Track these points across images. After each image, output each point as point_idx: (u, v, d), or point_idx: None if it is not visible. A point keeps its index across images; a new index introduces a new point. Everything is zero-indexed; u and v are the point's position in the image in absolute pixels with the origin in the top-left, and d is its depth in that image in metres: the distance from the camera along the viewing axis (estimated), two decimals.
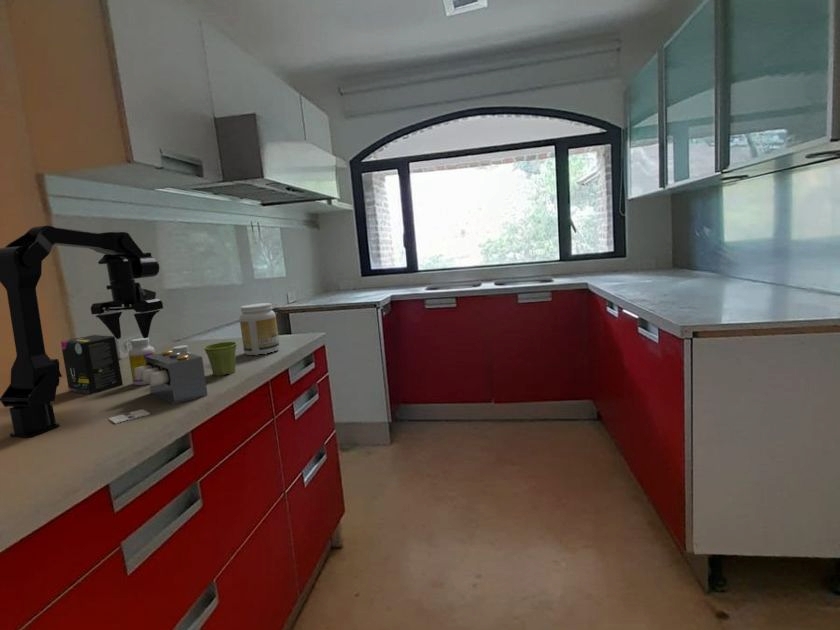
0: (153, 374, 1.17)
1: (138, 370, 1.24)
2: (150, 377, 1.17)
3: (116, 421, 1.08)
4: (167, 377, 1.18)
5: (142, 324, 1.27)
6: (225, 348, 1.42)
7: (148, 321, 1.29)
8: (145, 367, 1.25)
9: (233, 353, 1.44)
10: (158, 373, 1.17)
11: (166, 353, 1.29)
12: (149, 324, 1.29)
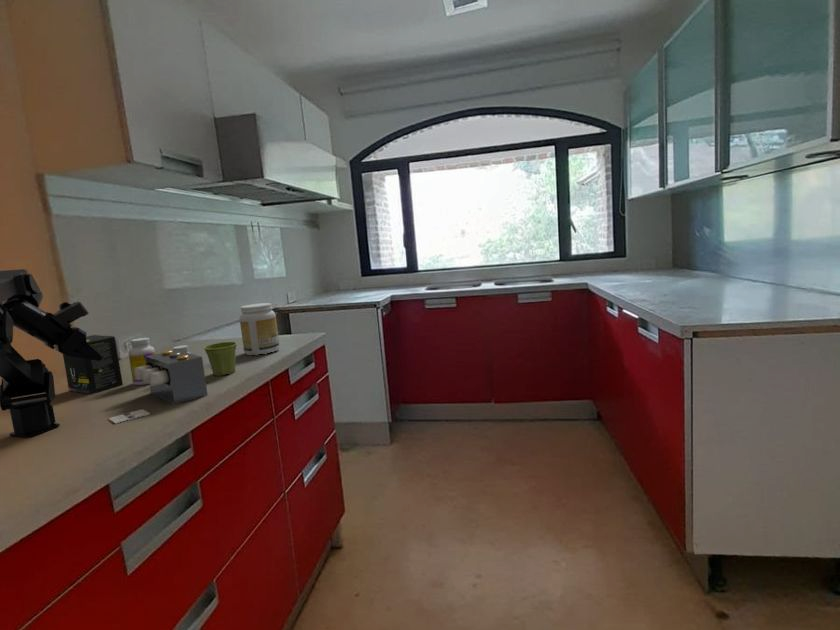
0: (153, 374, 1.17)
1: (138, 370, 1.24)
2: (150, 377, 1.17)
3: (116, 421, 1.08)
4: (167, 377, 1.18)
5: (82, 356, 1.12)
6: (225, 348, 1.42)
7: (86, 348, 1.12)
8: (145, 367, 1.25)
9: (233, 353, 1.44)
10: (158, 373, 1.17)
11: (166, 353, 1.29)
12: (90, 349, 1.13)
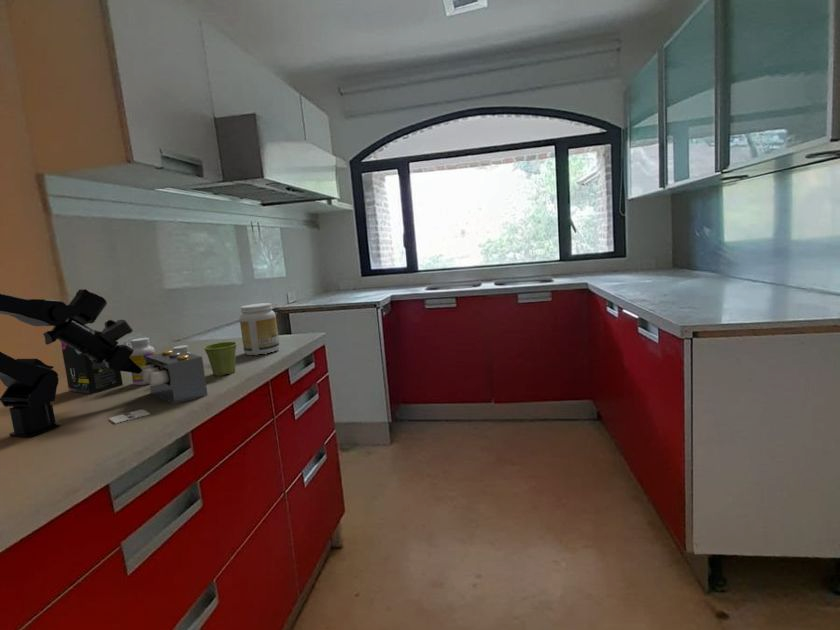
0: (153, 374, 1.17)
1: (144, 369, 1.25)
2: (150, 377, 1.17)
3: (116, 421, 1.08)
4: (167, 377, 1.18)
5: (124, 370, 1.22)
6: (225, 348, 1.42)
7: (128, 362, 1.22)
8: (151, 366, 1.26)
9: (233, 353, 1.44)
10: (158, 373, 1.17)
11: (166, 353, 1.29)
12: (132, 363, 1.23)
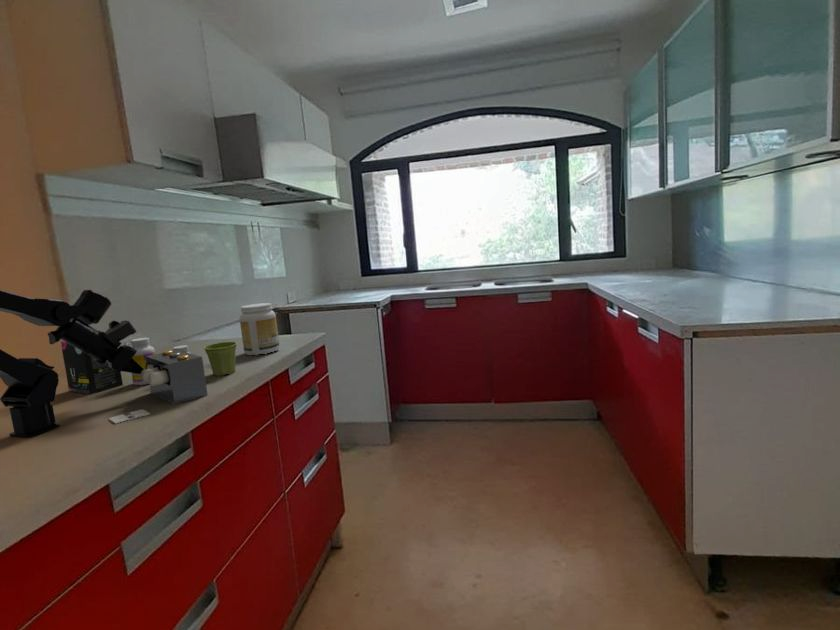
0: (153, 374, 1.17)
1: (151, 367, 1.26)
2: (150, 377, 1.17)
3: (116, 421, 1.08)
4: (167, 377, 1.18)
5: (127, 370, 1.22)
6: (225, 348, 1.42)
7: (131, 362, 1.22)
8: None
9: (233, 353, 1.44)
10: (158, 373, 1.17)
11: (166, 353, 1.29)
12: (135, 363, 1.23)
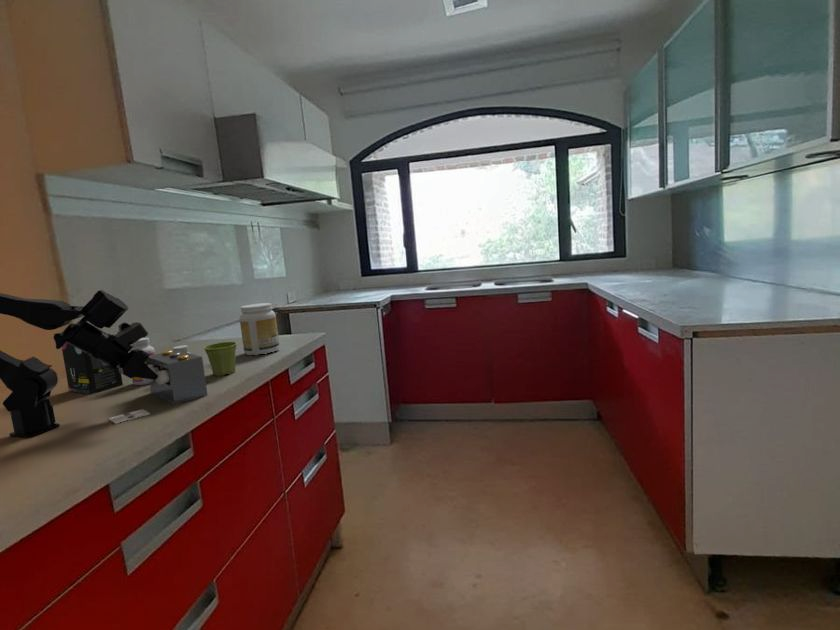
0: (160, 372, 1.18)
1: (151, 367, 1.26)
2: None
3: (116, 421, 1.08)
4: None
5: (139, 376, 1.14)
6: (225, 348, 1.42)
7: (143, 367, 1.14)
8: None
9: (233, 353, 1.44)
10: (165, 372, 1.19)
11: (166, 353, 1.29)
12: (147, 368, 1.15)
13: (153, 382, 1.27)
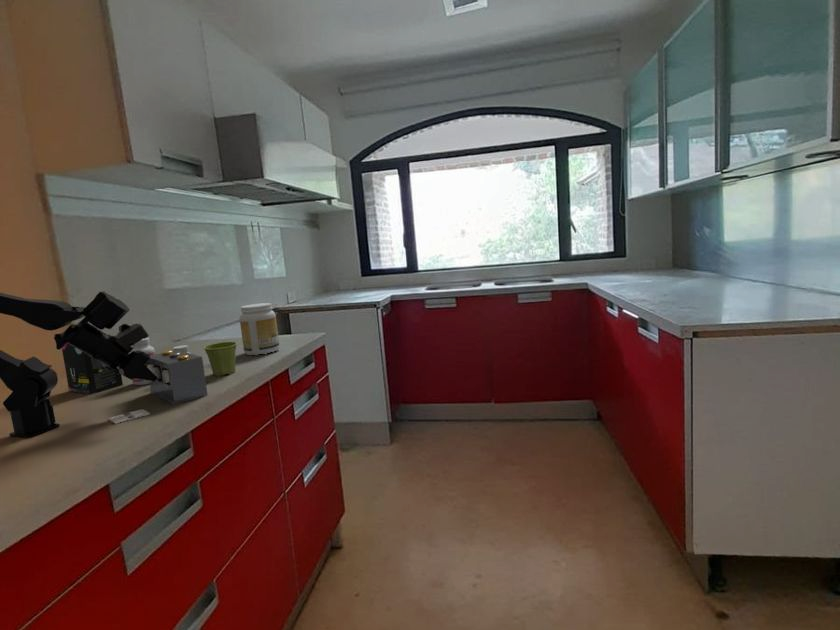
0: (167, 371, 1.19)
1: (151, 367, 1.26)
2: (164, 374, 1.19)
3: (116, 421, 1.08)
4: None
5: (139, 377, 1.14)
6: (225, 348, 1.42)
7: (143, 369, 1.15)
8: None
9: (233, 353, 1.44)
10: None
11: (166, 353, 1.29)
12: (147, 370, 1.15)
13: (153, 382, 1.27)
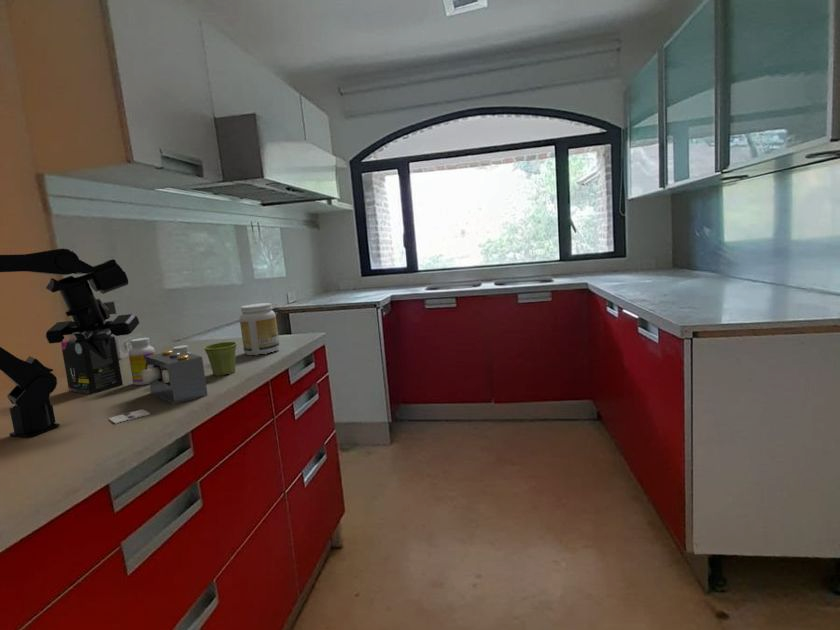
0: (167, 371, 1.19)
1: (151, 367, 1.26)
2: (164, 374, 1.19)
3: (116, 421, 1.08)
4: None
5: (104, 347, 1.16)
6: (225, 348, 1.42)
7: (107, 341, 1.18)
8: None
9: (233, 353, 1.44)
10: None
11: (166, 353, 1.29)
12: (108, 344, 1.18)
13: (153, 382, 1.27)
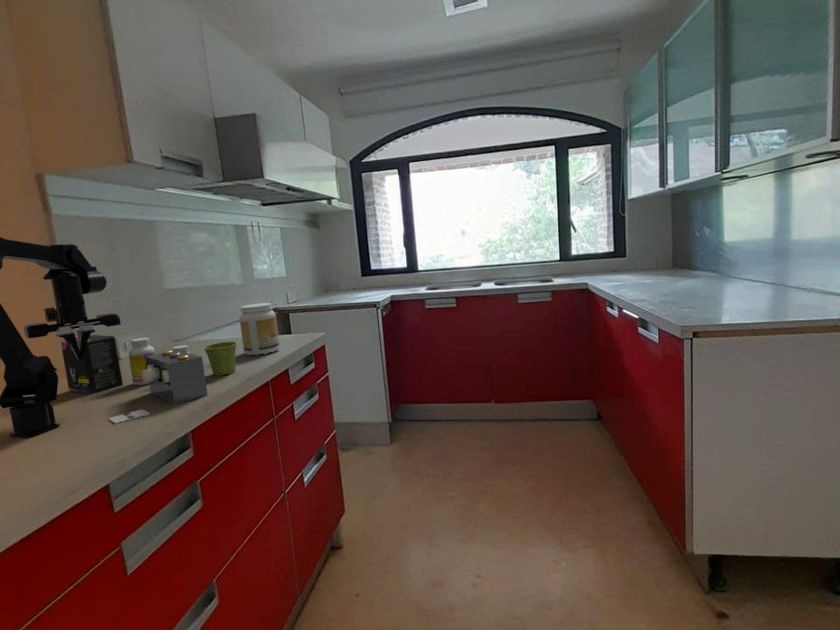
0: (167, 371, 1.19)
1: (151, 367, 1.26)
2: (164, 374, 1.19)
3: (116, 421, 1.08)
4: None
5: None
6: (225, 348, 1.42)
7: None
8: None
9: (233, 353, 1.44)
10: None
11: (166, 353, 1.29)
12: None
13: (153, 382, 1.27)
